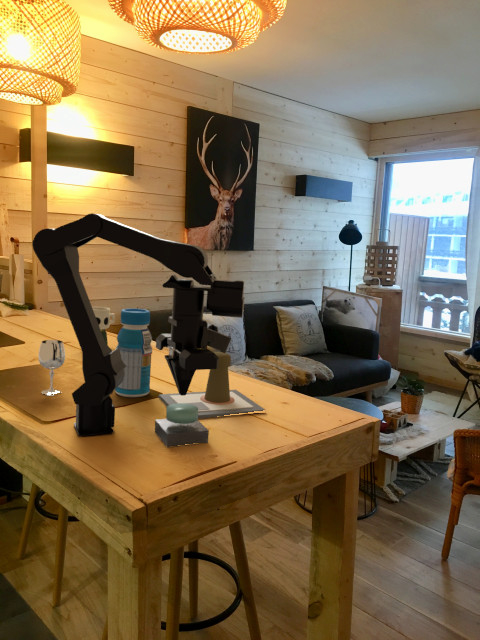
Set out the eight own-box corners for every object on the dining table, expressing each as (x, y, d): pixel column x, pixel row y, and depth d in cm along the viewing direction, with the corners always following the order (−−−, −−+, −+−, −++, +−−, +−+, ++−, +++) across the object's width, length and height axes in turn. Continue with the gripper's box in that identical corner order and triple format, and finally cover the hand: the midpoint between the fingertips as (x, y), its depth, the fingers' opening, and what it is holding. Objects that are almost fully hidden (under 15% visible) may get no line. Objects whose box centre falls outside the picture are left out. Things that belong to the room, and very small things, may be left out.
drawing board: (180, 420, 113) (180, 415, 113) (158, 397, 127) (158, 393, 127) (265, 413, 121) (265, 408, 121) (235, 392, 136) (236, 388, 136)
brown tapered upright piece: (235, 399, 126) (238, 353, 124) (217, 404, 122) (220, 356, 120) (217, 393, 130) (220, 348, 128) (198, 397, 126) (201, 351, 124)
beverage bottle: (118, 399, 124) (121, 313, 121) (110, 388, 131) (113, 307, 128) (154, 397, 128) (158, 313, 125) (144, 387, 135) (148, 307, 132)
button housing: (167, 447, 98) (167, 434, 98) (154, 431, 105) (155, 419, 105) (207, 443, 102) (208, 430, 101) (193, 428, 109) (194, 416, 108)
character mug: (84, 351, 169) (85, 310, 167) (77, 346, 174) (78, 306, 172) (117, 349, 175) (119, 309, 173) (109, 344, 180) (111, 306, 178)
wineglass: (57, 387, 129) (58, 338, 128) (68, 393, 125) (70, 343, 124) (33, 391, 125) (34, 340, 124) (44, 397, 121) (45, 345, 120)
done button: (171, 425, 99) (172, 414, 99) (162, 414, 104) (162, 404, 104) (202, 422, 102) (202, 412, 101) (191, 412, 107) (192, 402, 107)
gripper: (248, 322, 95) (242, 407, 97) (209, 306, 112) (204, 379, 114) (188, 322, 90) (183, 412, 93) (157, 305, 107) (153, 382, 109)
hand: (182, 394), depth 102 cm, fingers closed
